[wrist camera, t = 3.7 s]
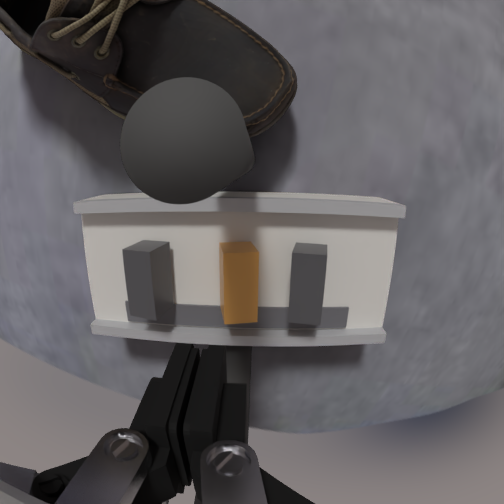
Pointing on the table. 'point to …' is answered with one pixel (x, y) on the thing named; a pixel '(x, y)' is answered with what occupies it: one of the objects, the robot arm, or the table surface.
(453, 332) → the table surface
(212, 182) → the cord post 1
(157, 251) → the grey block
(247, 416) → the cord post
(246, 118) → the boat shoe
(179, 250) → the breaker panel
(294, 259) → the grey block
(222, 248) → the rectangular block
